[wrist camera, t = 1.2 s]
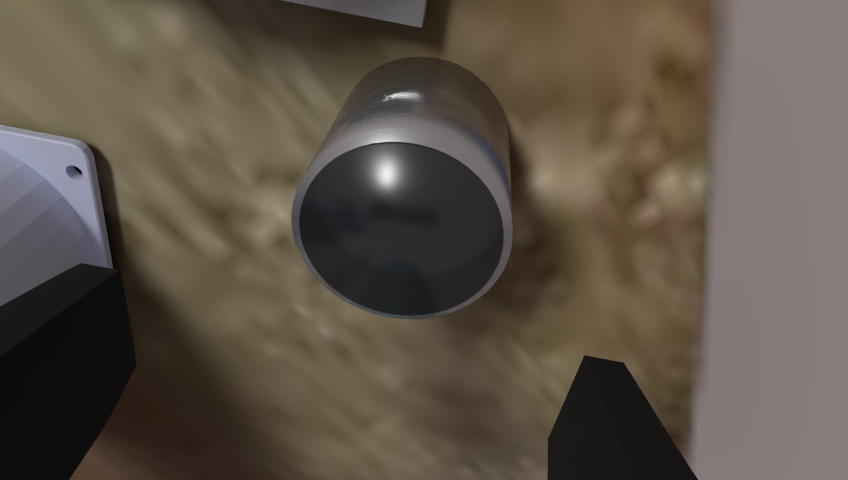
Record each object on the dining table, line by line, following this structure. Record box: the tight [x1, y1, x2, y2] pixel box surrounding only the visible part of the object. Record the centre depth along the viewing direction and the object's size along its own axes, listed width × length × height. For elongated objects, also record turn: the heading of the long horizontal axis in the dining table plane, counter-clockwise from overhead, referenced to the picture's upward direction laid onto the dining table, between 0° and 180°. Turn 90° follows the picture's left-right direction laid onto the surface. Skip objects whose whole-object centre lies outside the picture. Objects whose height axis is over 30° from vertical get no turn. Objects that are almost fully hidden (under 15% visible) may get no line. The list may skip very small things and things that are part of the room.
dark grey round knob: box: [292, 57, 513, 319], centre depth 16 cm, size 5×5×5 cm
